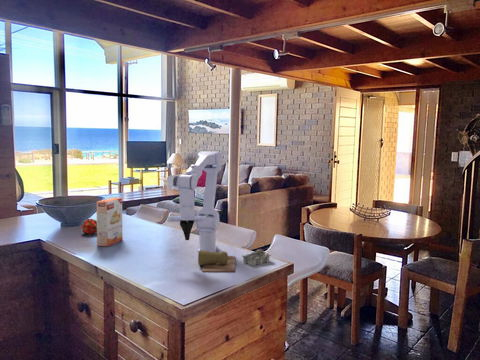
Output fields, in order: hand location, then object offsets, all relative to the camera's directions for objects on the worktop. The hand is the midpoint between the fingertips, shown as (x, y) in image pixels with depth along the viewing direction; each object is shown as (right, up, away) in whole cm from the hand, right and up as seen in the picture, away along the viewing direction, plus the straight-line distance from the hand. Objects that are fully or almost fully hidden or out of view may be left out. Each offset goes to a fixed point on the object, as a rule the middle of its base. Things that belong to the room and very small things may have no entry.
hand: (187, 239), depth 152 cm
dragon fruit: (-57, -5, +50) cm, 76 cm away
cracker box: (-41, -7, +32) cm, 52 cm away
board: (+13, -10, +1) cm, 16 cm away
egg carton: (+27, -10, +5) cm, 30 cm away
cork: (+5, -7, 0) cm, 8 cm away
